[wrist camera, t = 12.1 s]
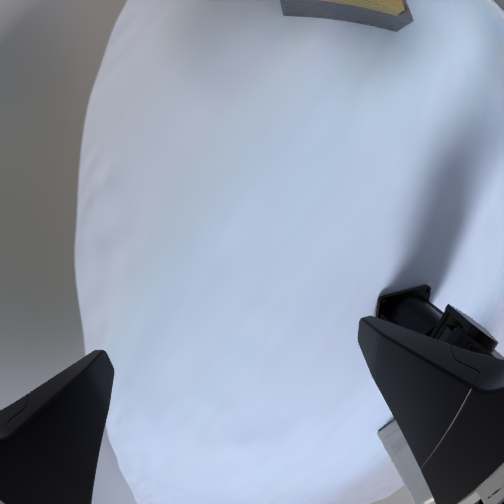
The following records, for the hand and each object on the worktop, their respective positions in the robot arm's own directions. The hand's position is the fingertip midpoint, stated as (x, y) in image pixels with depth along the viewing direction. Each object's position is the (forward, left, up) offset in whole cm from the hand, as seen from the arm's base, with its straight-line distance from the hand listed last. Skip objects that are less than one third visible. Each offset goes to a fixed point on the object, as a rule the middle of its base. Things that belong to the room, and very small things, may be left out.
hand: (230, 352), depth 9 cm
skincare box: (-22, +33, -13) cm, 42 cm away
